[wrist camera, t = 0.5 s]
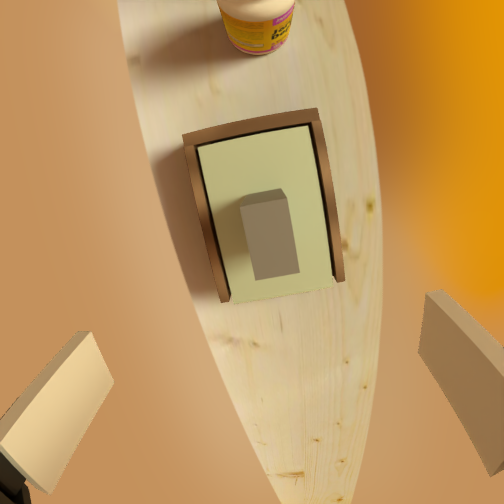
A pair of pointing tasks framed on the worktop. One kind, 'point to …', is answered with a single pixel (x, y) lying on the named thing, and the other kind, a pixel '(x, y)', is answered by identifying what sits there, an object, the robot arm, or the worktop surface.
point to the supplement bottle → (257, 23)
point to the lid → (268, 214)
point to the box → (247, 129)
